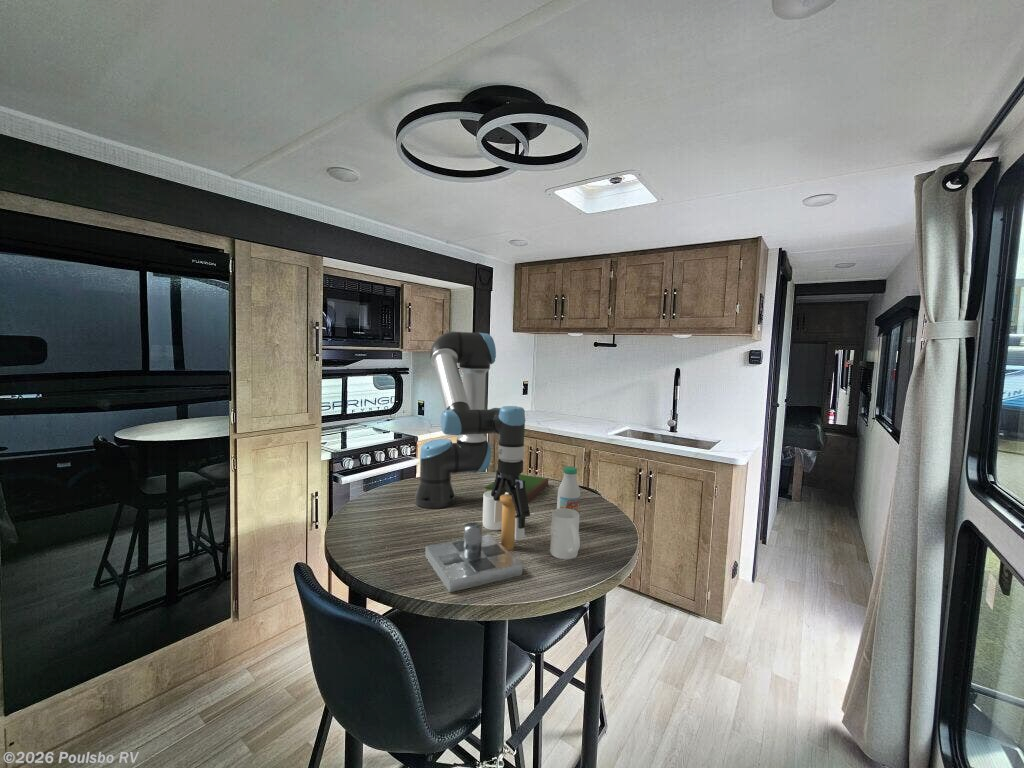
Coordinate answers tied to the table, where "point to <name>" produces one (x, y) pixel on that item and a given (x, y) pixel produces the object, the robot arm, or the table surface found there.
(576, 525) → the mug
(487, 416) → the robot arm
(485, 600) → the table surface
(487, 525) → the mug
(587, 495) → the table surface
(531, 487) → the hardcover book
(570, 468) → the milk bottle
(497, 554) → the checkered knob plate
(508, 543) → the tan wooden pestle
